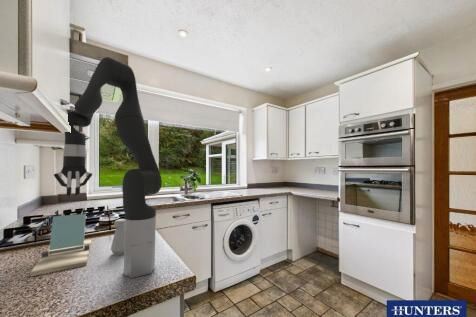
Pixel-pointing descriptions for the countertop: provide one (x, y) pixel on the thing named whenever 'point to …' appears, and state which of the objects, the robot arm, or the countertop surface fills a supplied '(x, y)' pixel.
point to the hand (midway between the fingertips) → (73, 195)
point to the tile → (67, 233)
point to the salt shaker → (118, 237)
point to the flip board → (62, 259)
